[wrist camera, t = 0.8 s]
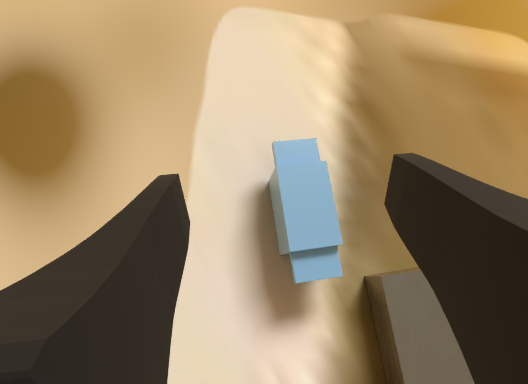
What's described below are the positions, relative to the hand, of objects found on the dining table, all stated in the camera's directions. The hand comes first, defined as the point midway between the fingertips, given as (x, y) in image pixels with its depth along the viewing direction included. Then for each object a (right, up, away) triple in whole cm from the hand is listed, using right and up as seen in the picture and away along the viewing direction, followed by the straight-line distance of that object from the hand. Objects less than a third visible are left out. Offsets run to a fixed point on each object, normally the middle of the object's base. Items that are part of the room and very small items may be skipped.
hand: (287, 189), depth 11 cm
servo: (+2, -2, +17) cm, 18 cm away
